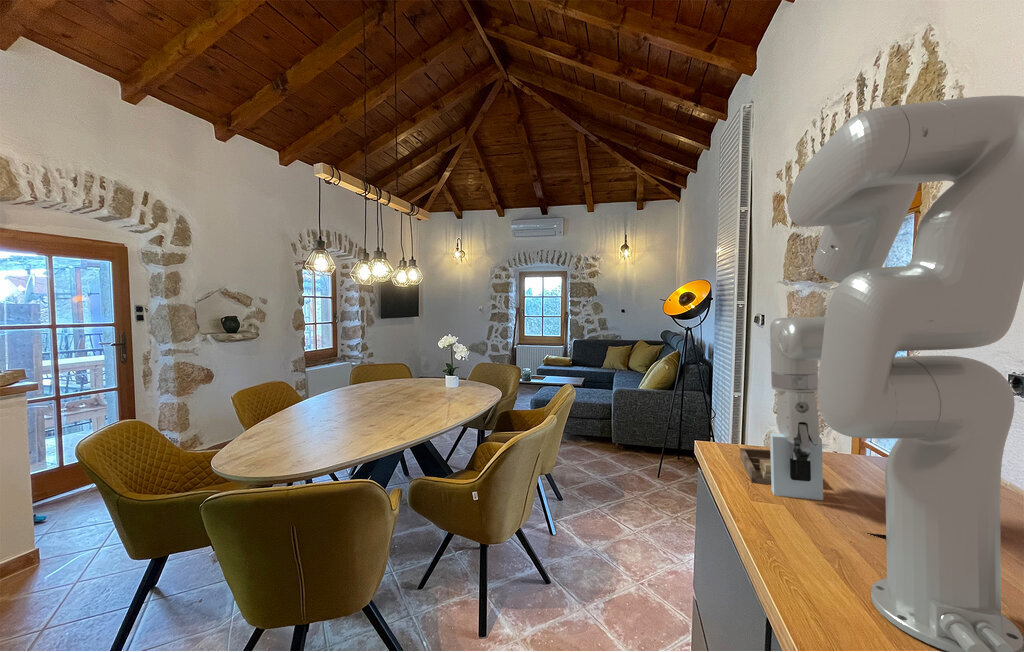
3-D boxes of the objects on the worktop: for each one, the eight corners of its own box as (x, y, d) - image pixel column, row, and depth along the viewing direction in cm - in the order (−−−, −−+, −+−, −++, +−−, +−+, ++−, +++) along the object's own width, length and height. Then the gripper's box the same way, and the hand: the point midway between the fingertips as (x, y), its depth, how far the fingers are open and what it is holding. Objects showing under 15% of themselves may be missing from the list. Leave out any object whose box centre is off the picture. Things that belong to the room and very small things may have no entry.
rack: (820, 493, 84) (819, 476, 84) (752, 487, 88) (751, 470, 88) (798, 466, 98) (798, 451, 98) (740, 462, 102) (740, 448, 102)
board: (823, 502, 79) (821, 439, 79) (774, 497, 82) (772, 436, 82) (819, 496, 81) (817, 435, 81) (771, 492, 84) (769, 433, 84)
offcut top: (800, 474, 87) (799, 466, 87) (765, 473, 88) (765, 465, 88) (792, 468, 90) (792, 460, 90) (759, 467, 91) (759, 459, 91)
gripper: (833, 390, 72) (836, 495, 72) (803, 374, 87) (805, 461, 88) (782, 389, 74) (785, 490, 75) (762, 374, 90) (764, 458, 91)
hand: (796, 473), depth 81 cm, fingers open, 4 cm apart
